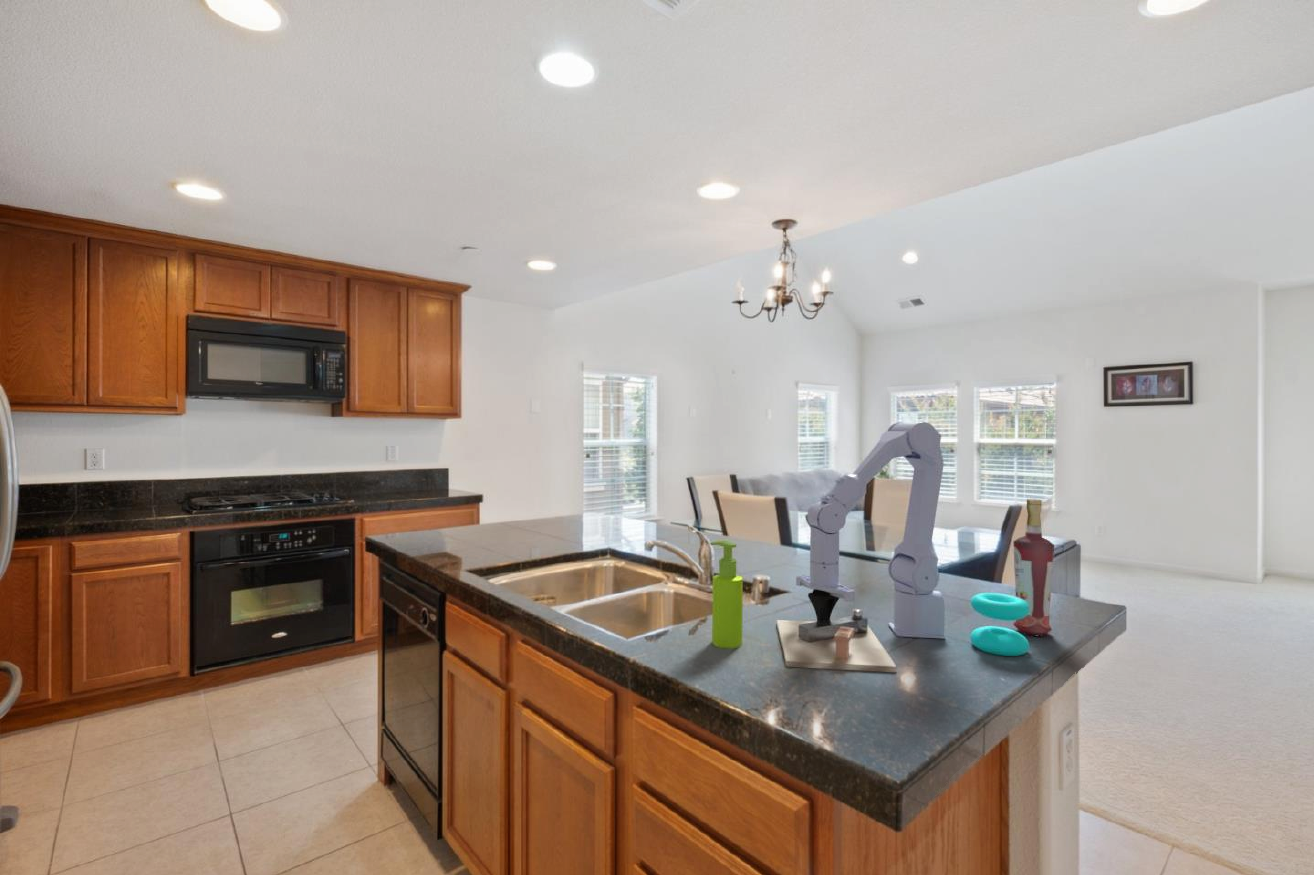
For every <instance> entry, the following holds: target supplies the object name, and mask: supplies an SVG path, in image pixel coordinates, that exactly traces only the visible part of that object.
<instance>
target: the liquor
mask: <svg viewBox="0 0 1314 875" xmlns="http://www.w3.org/2000/svg"><path fill="white" fill-rule="evenodd" d="M1042 502H1043V501H1042V499H1037V498H1036V499H1035V498H1034V499H1033V498H1028V499H1027V498H1026V510H1027V519H1026V528H1025V534H1024V536H1020V537H1018V538H1017V539H1015V540H1013V567H1014V569H1013V570H1014V571H1013V572H1014V584H1015V585H1014V588H1015V591H1014V592H1015V597H1018V598H1021V599H1023V600H1024V601H1026V602H1027V603H1028V605H1029V608H1030V611H1029V613H1028V615H1027V616H1026V617H1024V618H1022V619H1019V620H1014V622H1013V626H1014V627H1015V628H1016V630H1018V632H1019V633H1021V632H1022V633H1021V634H1023V633H1025V634H1024V635H1026V634H1028V635H1027V636H1031V635H1038V636H1037V637H1042V636H1041V635H1044V636H1046V635H1047V634H1048V633H1050V632H1052V630H1053V629H1052V627H1051V626H1050V615H1051V614H1050V611H1051V610H1050V609H1051V593H1052V582H1053V581H1052V580H1053V571H1054V554H1055V552H1054V551H1055V544H1054V543H1052V542H1051V541H1050V540H1048V539H1046V538H1045V537H1043V532H1042V521H1041V512H1042Z"/></svg>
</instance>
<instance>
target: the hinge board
mask: <svg viewBox="0 0 1314 875" xmlns="http://www.w3.org/2000/svg"><path fill="white" fill-rule="evenodd" d="M812 622H814V620H813V621H809V620H806V621H805V620H790V619H789V620H788V619H786V620H785V619H784V620H783V619H776V626H777V628H776V629H777V631H778V636H779V641H780V645H781V650H782V653H783V658H784V663H785V666H786V667H787V668H789V667H790V668H808V669H826V670H827V669H828V670H844V671H845V670H847V671H865V672H867V671H868V672H881V673H882V672H884V673H886V672H888V673H897V665H896V664H895V662H894V661H893V659H892V658H891V657H890V655H889V653H888V651H886V649H885V648H884V646H883V645H882V643H881V642H880V640H879V639H878V638H877V636H876V635H875V633H874V631H872V628H870V626H869V625H868V631H867V632H865V633H854V635H853V636H852V638H851V640H850V642H849V657H848V659H847V660H846V659H841V658H836V641H834V637H833V638H827V639H822V640H816V641H811V642H807V641H805V640H803V639H801V638H799V625H800V624H806V623H812Z"/></svg>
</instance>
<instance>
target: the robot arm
mask: <svg viewBox="0 0 1314 875" xmlns="http://www.w3.org/2000/svg"><path fill="white" fill-rule="evenodd" d="M941 440H942V435H941V434H940V432H939V431H938V429H936V428H935V427H934V425H932V424H931V423H929V422H927V421H920V422H900V421H899V422H895V423H892V424H891V425H889V427H888V429H887V430H886V431H884V432H883V433H882V434H881V436H880V438H879V440H878V442H877V443H876V444H875V445H874V447H873V449H871V450H870V452H869V453H868V455H867V456H866V457H865V458H864V460H862V462H861V463H860V464H859V466H857V467H856V469H855V471H853V473H852V474H843V475H842V476H838V477H837V478H836V479H835V480H834V481H835V484H833V486H832V487H831V489H830V490H829V491H828V492H827V493H826V494H823V495H821V497H820V501H818V502H815V503H813V504H811V506H810V507H809V508H808V510H807V513H806V514H804V516H805V517H804V518H805V521H806V523H807V525H808V526H809V527H810V539H809V541H810V543H809V544H810V545H809V576H807V575H803V574H801V575H796V576H795V581H796V582H795V584H796V586H800V587H804V588H807V589H810V590H812V592H809V593H807V597H808V599H809V601H810V602H811V605H812V607H813V609H814V612H815V615H816V622H818V621H824V620H830V619H831V616H832V612H833V610H834V609H835V606H836V604H837V603H838V601H839V600H840V599H842V600H843V601H844V602H847V603H848V602H853V601H855V599H856V598H855V597H856V595H855V592H856V591H855V590H854V589H851V588H848V587H847V586H845V585H843V584H841V583H840V530H842V529H843V528H844V527H845V526H846V525H845V524H846V520H847V516H848V514H850V512H851V511H852V510H853V509H854V508H855V506H856V505H857V504H858V503H859V502H860V501H861V500H862V499H863V498H864V496H865V495H867V485H868V483H869V482H870V481H872V480H873V478H874V477H875V476H876V475H878V474H879V473H880V472H881V471H882V470H883V469H884V468H885V467H886V466H887V465H888V464H889V463H890V462H891V460H893V459H896V458H900V457H904V458H905V460H906V461H907V462H908V463H909V464H910V465H911V467H912V468H913V475H912V480H911V481H912V482H911V487H910V488H911V489H910V495H909V500H908V507H907V512H906V520H905V527H904V533H903V538H902V539H903V540H902V541H901V542H900V543H899V544H898V545H897V546H895V548H894V552H893V556H892V557H891V559H890V560H889V562H888V566H887V571H888V572H887V573H888V576H889V578H890V579H891V580H892V581H893V587H894V593H893V594H894V600H893V602H894V604H893V608H894V609H893V611H894V612H893V613H894V614H893V622H888V624H887V625H888V626H889V627H890V629H891V630H892V631H893V632H894V633H895V635H896V637H901V638H927V639H946V635H945V623H946V622H945V621H946V620H945V619H946V618H945V612H946V611H945V610H946V607H945V599H944V596H943V594H942V592H941V591H939V590H935V589H936V588H937V587H938V584H939V582H940V572H939V568H938V562H939V561H938V560H939V558H938V556H937V555H936V553H935V552H934V550H933V548H932V541H933V535H934V529H935V521H936V514H937V510H938V502H939V496H940V490H941V484H942V478H943V471H944V464H945V462H944V459H943V458H944V457H943V454H942V449H941Z"/></svg>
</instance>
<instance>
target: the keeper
mask: <svg viewBox="0 0 1314 875" xmlns="http://www.w3.org/2000/svg"><path fill="white" fill-rule="evenodd" d="M853 635H854V628H849V627H842V626H841V627H840V628H839V629H838V631H837V632H836V634H835V635H834V641H836V658H841V659H846V660H847V659H848V657H849V642H850V640H851V638H852V636H853Z"/></svg>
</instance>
